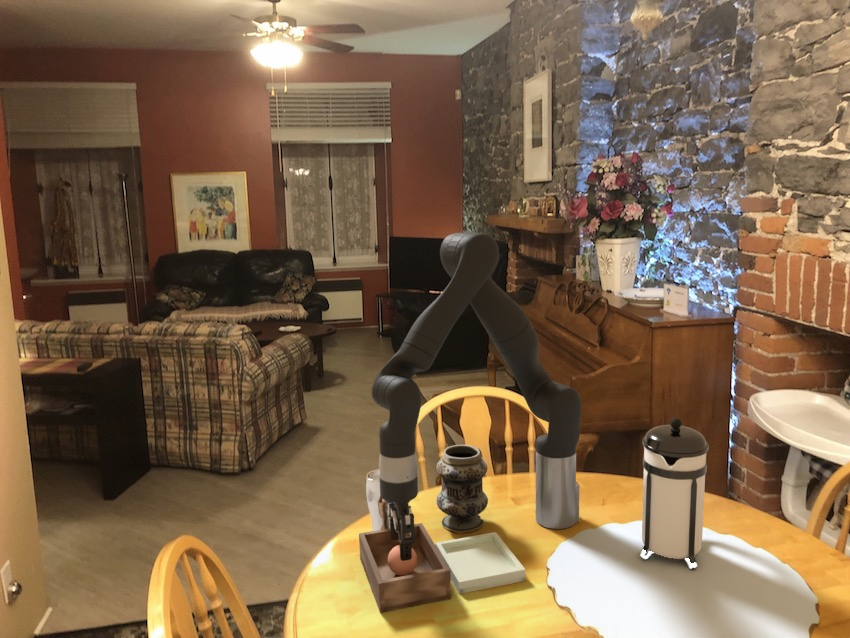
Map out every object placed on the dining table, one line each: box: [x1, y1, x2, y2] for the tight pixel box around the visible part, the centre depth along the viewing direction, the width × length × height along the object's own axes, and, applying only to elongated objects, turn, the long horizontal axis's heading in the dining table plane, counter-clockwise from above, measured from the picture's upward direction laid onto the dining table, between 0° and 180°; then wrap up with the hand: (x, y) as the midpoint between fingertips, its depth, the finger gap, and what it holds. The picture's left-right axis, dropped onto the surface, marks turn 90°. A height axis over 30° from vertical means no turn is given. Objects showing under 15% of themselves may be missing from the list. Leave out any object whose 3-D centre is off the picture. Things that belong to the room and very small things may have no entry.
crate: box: [358, 522, 452, 614], centre depth 141 cm, size 14×20×6 cm
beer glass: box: [365, 468, 390, 532], centre depth 157 cm, size 7×7×15 cm
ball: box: [388, 545, 417, 576], centre depth 141 cm, size 6×6×6 cm
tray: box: [434, 531, 526, 594], centre depth 144 cm, size 14×16×2 cm
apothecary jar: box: [435, 444, 489, 534], centre depth 162 cm, size 12×12×18 cm
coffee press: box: [641, 417, 710, 563], centre depth 146 cm, size 17×16×30 cm
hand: (400, 548), depth 140 cm, fingers open, 8 cm apart
